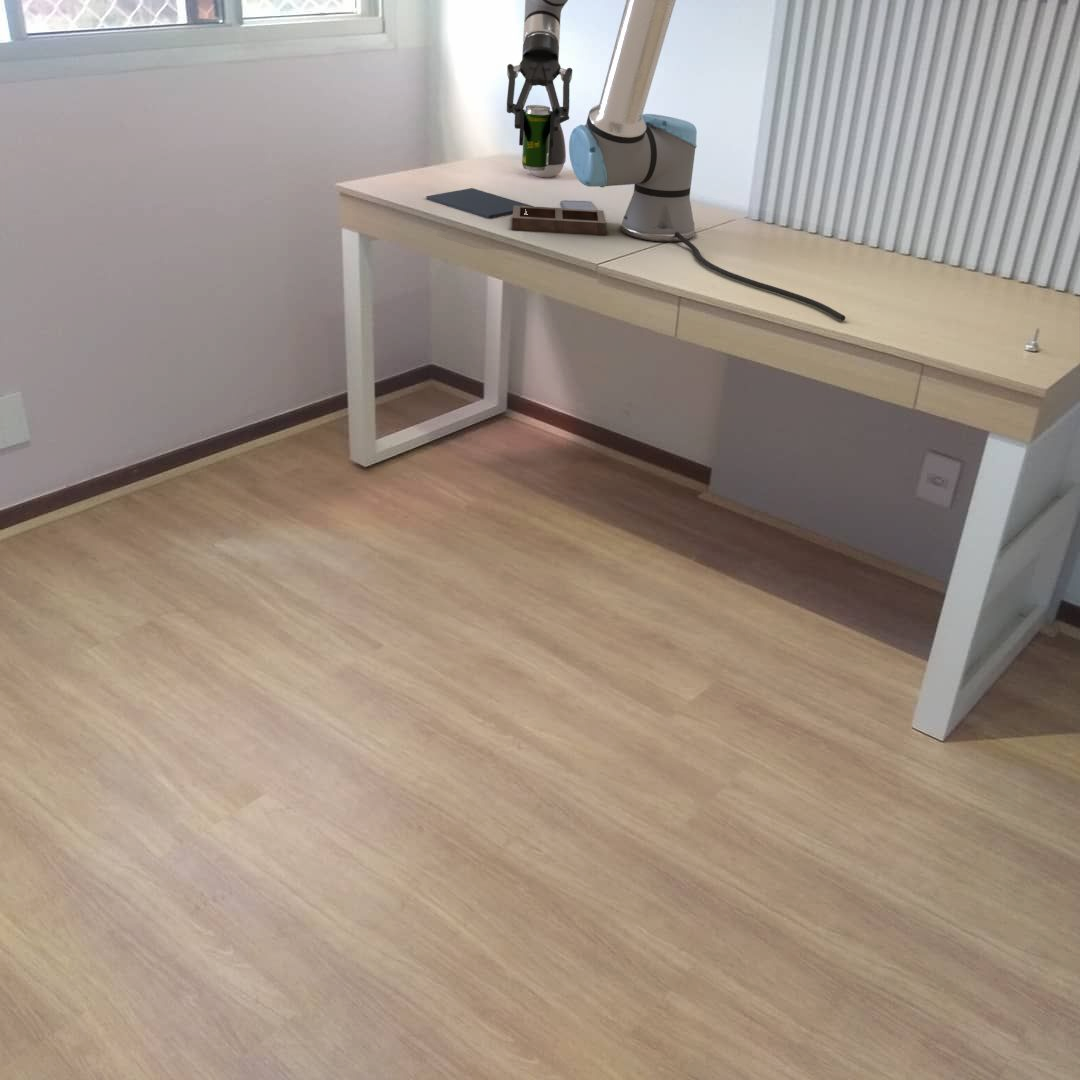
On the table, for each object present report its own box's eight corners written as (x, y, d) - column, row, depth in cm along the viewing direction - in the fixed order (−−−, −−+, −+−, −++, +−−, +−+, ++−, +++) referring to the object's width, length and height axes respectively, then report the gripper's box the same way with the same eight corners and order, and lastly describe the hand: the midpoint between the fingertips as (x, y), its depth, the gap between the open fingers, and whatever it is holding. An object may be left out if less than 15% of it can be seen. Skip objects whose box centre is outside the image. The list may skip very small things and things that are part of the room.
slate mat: (534, 209, 256) (534, 206, 256) (488, 218, 247) (488, 215, 247) (471, 190, 268) (471, 187, 267) (426, 198, 258) (426, 196, 258)
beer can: (546, 165, 243) (549, 105, 237) (549, 171, 238) (552, 110, 232) (520, 164, 242) (523, 104, 236) (523, 170, 238) (525, 109, 232)
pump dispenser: (565, 181, 281) (569, 115, 273) (522, 178, 281) (525, 112, 273) (565, 171, 290) (569, 108, 282) (524, 169, 290) (527, 105, 282)
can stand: (602, 222, 250) (603, 210, 248) (604, 235, 240) (605, 223, 239) (513, 217, 249) (513, 205, 248) (511, 229, 240) (512, 217, 239)
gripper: (584, 58, 244) (580, 155, 238) (496, 53, 243) (490, 150, 237) (586, 34, 237) (582, 134, 231) (496, 29, 236) (490, 128, 230)
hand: (536, 142), depth 234 cm, fingers closed on beer can, 5 cm apart
